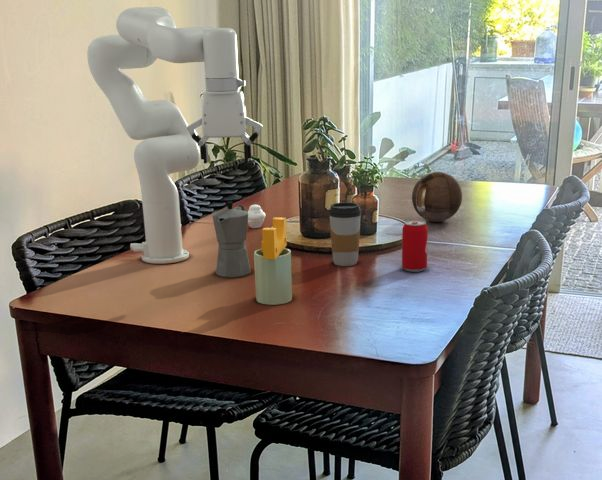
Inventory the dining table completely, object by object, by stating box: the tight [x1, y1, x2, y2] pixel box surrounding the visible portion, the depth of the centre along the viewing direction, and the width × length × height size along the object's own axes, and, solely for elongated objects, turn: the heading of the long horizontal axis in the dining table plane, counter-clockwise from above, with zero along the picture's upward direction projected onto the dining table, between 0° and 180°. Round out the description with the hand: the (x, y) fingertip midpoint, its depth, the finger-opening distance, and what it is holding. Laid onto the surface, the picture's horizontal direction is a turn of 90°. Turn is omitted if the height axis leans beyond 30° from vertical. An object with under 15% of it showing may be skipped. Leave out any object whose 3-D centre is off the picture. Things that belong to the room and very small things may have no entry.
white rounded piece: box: [247, 204, 266, 229], centre depth 261 cm, size 6×6×7 cm
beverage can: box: [401, 219, 429, 273], centre depth 214 cm, size 6×6×12 cm
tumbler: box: [253, 247, 293, 306], centre depth 194 cm, size 8×8×11 cm
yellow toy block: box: [260, 216, 288, 259], centre depth 191 cm, size 12×4×6 cm, turn 169°
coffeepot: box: [211, 200, 252, 278], centre depth 215 cm, size 15×9×18 cm, turn 163°
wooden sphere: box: [411, 171, 463, 223], centre depth 261 cm, size 15×15×15 cm
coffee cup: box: [328, 201, 362, 267], centre depth 220 cm, size 8×8×15 cm
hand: (226, 162), depth 202 cm, fingers open, 9 cm apart
